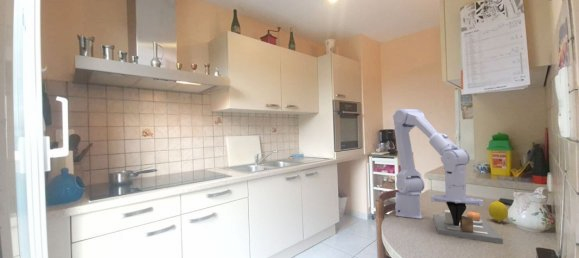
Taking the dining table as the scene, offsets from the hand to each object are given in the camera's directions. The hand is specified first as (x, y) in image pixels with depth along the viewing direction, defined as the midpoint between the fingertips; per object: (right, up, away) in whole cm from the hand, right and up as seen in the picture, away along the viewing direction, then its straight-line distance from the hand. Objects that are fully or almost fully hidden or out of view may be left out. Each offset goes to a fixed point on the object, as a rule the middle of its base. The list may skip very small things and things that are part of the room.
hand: (456, 224), depth 82 cm
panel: (+5, -3, +3) cm, 7 cm away
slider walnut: (+3, -1, -1) cm, 3 cm away
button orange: (+11, 0, +6) cm, 12 cm away
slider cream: (+1, -1, +5) cm, 6 cm away
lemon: (+23, -3, +10) cm, 25 cm away
